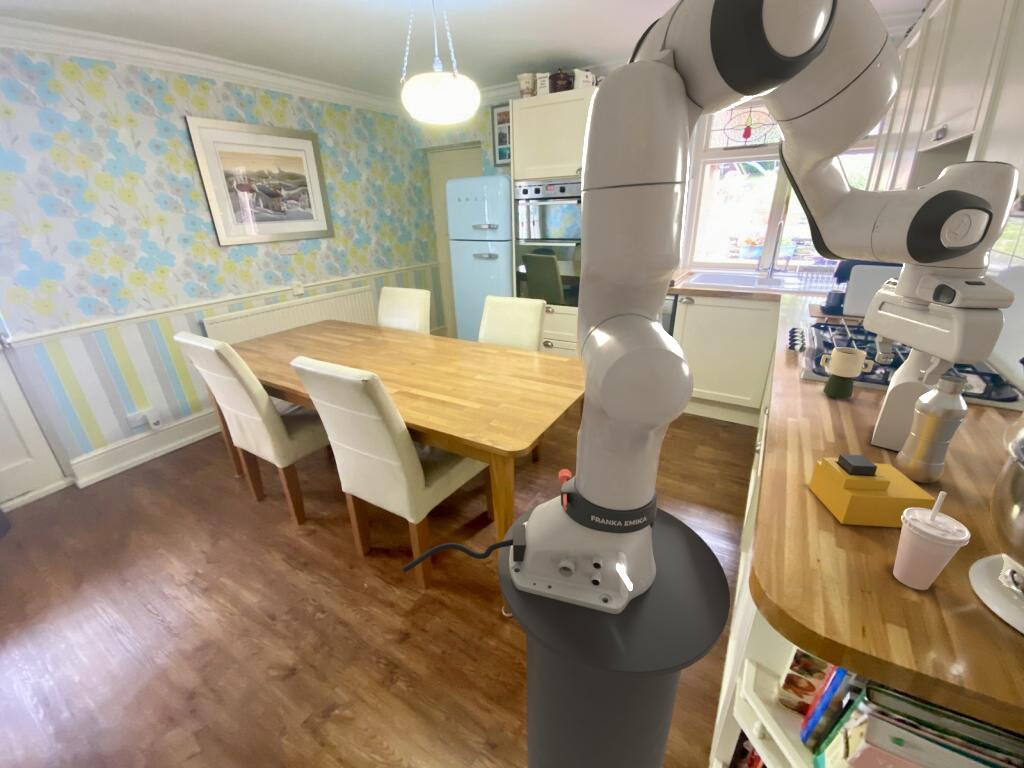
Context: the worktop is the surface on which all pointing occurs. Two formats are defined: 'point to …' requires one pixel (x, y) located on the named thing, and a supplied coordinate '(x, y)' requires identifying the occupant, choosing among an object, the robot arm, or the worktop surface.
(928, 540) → the smoothie
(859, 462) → the block
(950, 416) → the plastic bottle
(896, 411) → the soap bottle
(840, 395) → the character mug
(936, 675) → the worktop surface
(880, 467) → the stepped yellow pedestal
